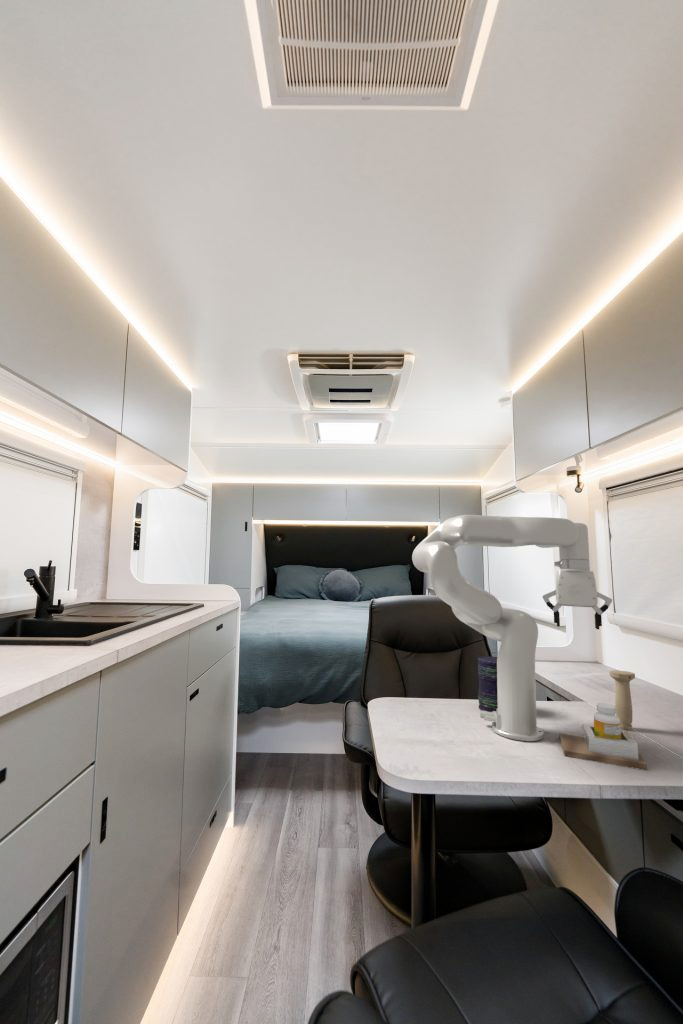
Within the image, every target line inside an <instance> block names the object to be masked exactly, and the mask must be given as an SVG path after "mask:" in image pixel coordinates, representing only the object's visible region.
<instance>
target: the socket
mask: <svg viewBox="0 0 683 1024" xmlns="http://www.w3.org/2000/svg"><path fill="white" fill-rule="evenodd" d="M581 725H582V726H581V727H582V737H583V740H584V742H585V744H586V746H587V749H588V751H589V753H594V754H600V755H605V756H611V757H617V758H623V759H629V760H635V761H639V760H638V753H639V747H638V746H639V745H638V744H639V743H637V740H635V739H634V738H633V736H632V735H631V733H630V732H629V730H623V729H621V739H614V738H608V737H601V736H595V734H594V724H588V723H582V724H581Z"/></svg>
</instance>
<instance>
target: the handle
mask: <svg viewBox="0 0 683 1024" xmlns="http://www.w3.org/2000/svg"><path fill="white" fill-rule="evenodd" d="M609 677H611V678H612V679H613V680H614V681H615V703H614V706H615V707H616V714H615V715H616V716H617V717H618V718H619V719H620V725H621V729H622V730H627V731H631V730H632V728H633V704H632V696H631V686H630V682H631V681H633V680H635V678H636V674H635V672H632V671H628V670H616V669H615V670H609Z"/></svg>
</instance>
